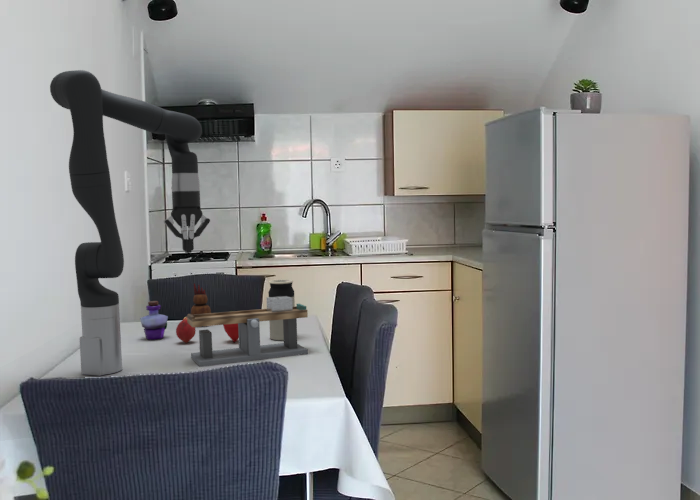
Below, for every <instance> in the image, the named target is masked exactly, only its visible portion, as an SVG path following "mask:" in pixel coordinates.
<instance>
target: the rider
mask: <svg viewBox="0 0 700 500" xmlns="http://www.w3.org/2000/svg"><path fill="white" fill-rule="evenodd" d="M266 309H267V312H269V313H270V312H282V311H293V307H292V298H291V297H288V296H281V297H269V296H268V297H266Z"/></svg>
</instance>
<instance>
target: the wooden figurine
mask: <svg viewBox="0 0 700 500" xmlns="http://www.w3.org/2000/svg"><path fill="white" fill-rule="evenodd" d="M197 285H198V286H196V284H195V283H193V293H194V295H193V298H192V301H193V305H192V307H191V309H190V314H191V315H194V314H207V313H212V309H211V306H209V304H207V303H208V301H209V299H208V296H207V294H206V289H203V287H201V288H200V284H197Z"/></svg>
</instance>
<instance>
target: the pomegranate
mask: <svg viewBox="0 0 700 500" xmlns="http://www.w3.org/2000/svg"><path fill="white" fill-rule="evenodd" d="M175 335H176V336H177V338H178V339H179V340H180V341H182V342H183V343H185V344H188V343H189V342H191V340H192V339H193V338H194V337H195V335H196V327H192V326H191V325H189V324H188V323H187V316H185V317H184V318H183V319H182V320H181V321H180V322H179V323H178V324H177V325H176V329H175Z"/></svg>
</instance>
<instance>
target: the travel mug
mask: <svg viewBox="0 0 700 500" xmlns="http://www.w3.org/2000/svg"><path fill="white" fill-rule="evenodd" d="M293 282H294V280H292V279H272V280H269V281H268V284H269V287H270V288H269V290H268V292H267V293H268V297H281V296H288V297H291V298H292V307H295V304H296V303H295V302H296V301H295V290H294V288H293ZM268 323H269V339H271V340H273V341H280V342H281V341H283V342H284V334H283V320H271V321H268Z"/></svg>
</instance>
